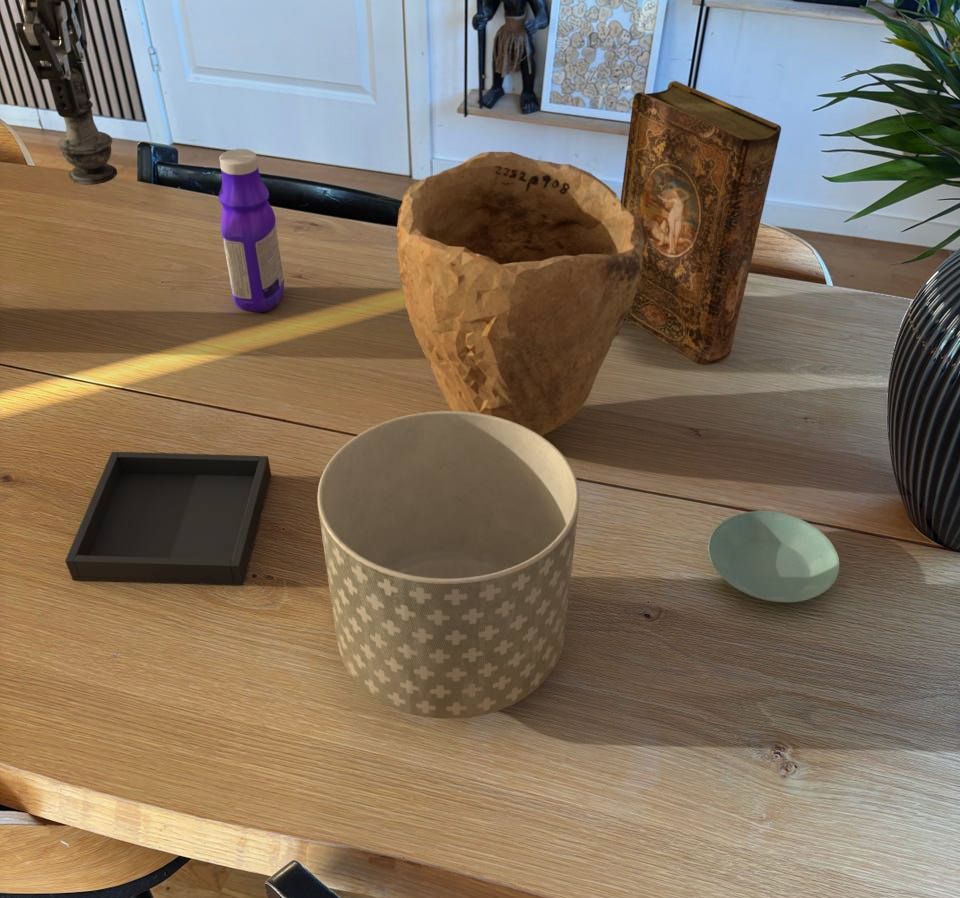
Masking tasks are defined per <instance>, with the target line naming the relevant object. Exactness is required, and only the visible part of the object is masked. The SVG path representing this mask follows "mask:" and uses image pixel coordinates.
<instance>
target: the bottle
mask: <svg viewBox="0 0 960 898" xmlns="http://www.w3.org/2000/svg"><path fill="white" fill-rule="evenodd" d="M219 166H220V170H221V187H220V190H219V192H218V201H219V203H220V205H222V207H221V215H220V232H221V236H222V242H223V248H224V253H225V258H226V264H227V270H228V277H229V282H230V288H231V295H232V298H233V301H234V303H235V306H236V307H237V308H238V309H240V310H242V311H248V312H254V313H265V312H269V311H270V310H272V309H274V307H276V306H277V305H278V304H279V302H280V301H281V300H282V297H283V295H284V290H285V280H284V273H283V266H282V259H281V252H280V246H279V245H280V243H279V237H278V230H277V223H276V220H277V219H276V214H275V212H274V210H273V207H272V206H271V204H270V202H269V198H270V192H269V189H268V188H267V186H266V185H265V184H264V182H263V180H262V178H261V174H260V169H259V164H258V157H257V154H256V153H255V152H254V151H253V150H251V149H247V148H236V149H235V148H233V149H229V150H226V151H225V152H223V153H221V154H220V155H219Z"/></svg>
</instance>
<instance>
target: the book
mask: <svg viewBox="0 0 960 898" xmlns="http://www.w3.org/2000/svg"><path fill="white" fill-rule="evenodd" d="M781 132H782V127H781V125H780V124H777V123H775V122H773V121H770V120H768V119H766V118H764V117H761V116H759V115H757V114H754V113H752V112H750V111H747V110H745V109H742V108H740V107H737V106H736V105H733V104H731V103H729V102H726V101H723V100H721V99H719V98H716V97H715V96H713V95H710V94H708V93H705V92H702V91H700V90H698V89H695V88H693V87H691V86H690V85H689V86H688V85H687V84H684V83H682V82H680V81H677V80H673V81H671V82H669V83H668V85H667V89H665V90H662V91H657V92H650V93H645V92H642V91H638V92H637V93H635V94H634V96H633V99H632V107H631V114H630V123H629V130H628V137H627V146H626V147H627V148H626V155H625V162H624V172H623V179H622V187H621V195H620V202H621V204H622V205H623V206H624V207H625V209H626V210H627V211H628V212H629V213H631V214H633V215H634V216H636V217H637V218H638V219H639V221H640V222H641V224H642V227H643V234H644V241H645V250H644V253H643V270H642V273H641V279H640V283H639V286H638V290H637V292H636V295H635V298H634V301H633V304H632V306H631V308H630V310H629V312H628V314H627V316H626V317H625V320H627V321H629V322H631V323H632V324H634V325H635V326H637V327H639V328H640V329H642V330H643V331H646V332H647V333H648V334H650V335H652V336H653V337H655V338H656V339H658V340H659V341H661V342H663V343H665V344H666V345H668V346H669V347H670V348H673V349H674V350H675V351H678V352H679V353H681V354H682V355H684V356H686V357H687V358H689V359H690V360H692V361H694V362H695V363H697V364H700V365H712V364H716V363H717V364H718V363H719V362H721V361H724V360H726V359H727V358H728V357H729V356H730V355H731V353H732V348H733V344H734V339H735V335H736V331H737V326H738V323H739V317H740V313H741V309H742V304H743V299H744V295H745V290H746V287H747V281H748V278H749V273H750V269H751V265H752V261H753V256H754V251H755V246H756V243H757V238H758V233H759V229H760V224H761V220H762V217H763V212H764V207H765V203H766V199H767V198H766V197H767V194H768V189H769V185H770V180H771V177H772V172H773V168H774V164H775V158H776V155H777V150H778V145H779V140H780V138H781V137H780V136H781Z"/></svg>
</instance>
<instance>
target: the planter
mask: <svg viewBox="0 0 960 898" xmlns="http://www.w3.org/2000/svg"><path fill="white" fill-rule="evenodd" d="M316 497H317V510H318V517H319V525H320V532H321V539H322V545H323V552H324V560H325V567H326V574H327V582H328V588H329V596H330V602H331V609H332V616H333V624H334V631H335V638H336V644H337V649H338V653H339V655H340V659H341V660H342V663H343V665H344V668H345V669H346V670H347V672H348V674H349V675H350V676H351V677H352V678H353V680H354V681H355V682H356V683H357V684H358V685H359V686H360V687H361V688H362V690H364V691H365V692H366V693H368V694H369V695H371V697H373V698H375V699H376V700H378V701H379V702H382V703H383V704H385V705H387V706H389V707H391V708H394V709H396V710H399V711H401V712H405V713H408V714H411V715H416V716H420V717H425V718H432V719H446V720H447V719H449V720H450V719H451V720H452V719H466V718H474V717H479V716H483V715H488V714H492V713H495V712H497V711H500V710H503V709H506V708H508V707H511V706H512V705H515V704H516V703H518V702H520V701H522V700H523V699H524V698H526V697H527V696H529V695H531V694H532V693H534V692H535V690H536V689H537V688H539V687H540V686H541V685H542V684H543V683H544V682H545V681H546V680H547V678H548V677H549V676H550V675H551V673H552V672H553V670H554V668H555V666H557V663H558V661H559V659H560V656H561V654H562V650H563V646H564V641H565V631H566V625H567V624H566V622H567V615H568V605H569V596H570V590H571V589H570V588H571V587H570V586H571V579H572V569H573V562H574V561H573V560H574V552H575V543H576V533H577V525H578V517H579V508H580V489H579V483H578V479H577V476H576V473H575V471H574V469H573V467H572V465H571V463H570V462H569V460H567V458H566V456H564V454H563V453H562V452H561V451H560V450H559V449H558V448H557V446H555V445H553V444H552V443H551V441H549V440H548V439H546V438H545V437H544V436H540V435H539V434H537V433H535V432H534V431H532V430H530V429H528V428H526V427H524V426H522V425H519V424H517V423H514V422H512V421H509V420H506V419H502V418H499V417H495V416H491V415H486V414H480V413H473V412H463V411H452V410H439V411H436V410H435V411H427V412H419V413H412V414H408V415H407V414H406V415H403V416H399V417H395V418H393V419H390V420H386V421H383V422H381V423H378V424H377V425H374V426H373V427H370V428H368V429H366V430H364V431H362V432H361V433H359V434H358V435H356V436H354V437H353V438H351V439H349V441H347V442H346V443H345V444H344V445H342V446H341V447H340V449H338V451H336V453H334V455H333V456H332V457H331V459H330V460H329V462H328V463H327V464H326V466H325V468H324V470H323V471H322V474H321V476H320V480H319V483H318V487H317V496H316Z"/></svg>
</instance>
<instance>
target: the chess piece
mask: <svg viewBox="0 0 960 898" xmlns="http://www.w3.org/2000/svg"><path fill="white" fill-rule="evenodd" d="M69 68H70V72H71V78H72V81H73V85H74V89H75V93H76V96H77V100H78V104H79V108H80V114H79V115H78V117H76V118H71V117H63V120H64V124H65V130H66V135H64V136H62V137H61V138H60V139H58V141H57V144H56V145H57V148H58V150H59V151H60V152H62V156H63V158H65V160H66V161H67V162H68V164H70V165H71V166H73V167H74V168H72V169H71V170H70V171H69V173H68V178H69V180H70V181H71V182H72V183H74V184H78V185H83V186H93V185H100V184H101V185H102V184H104V183H107V182H111V181H112V180H113V179H115V178H116V177H117V175H118V170H117V168H116V167H115V166H114V165H111V164H109V163H108V162H109V161H110V158H111V155H112V144H113V137H112V136H111V135H110V134H108V133H106V132H102V131H99V129H98V127H97V125H96V123H95V120H94V116H93V113H92V112H93V111H92V108H93V106H94V104H93V102H92V101H91V100H90V99H89V100H88V99H87V95H86V91H85V87H84V83H83V79H82V76H81V73H80V72H79V71H78V70H76V69H74V68H71V67H69Z"/></svg>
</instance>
